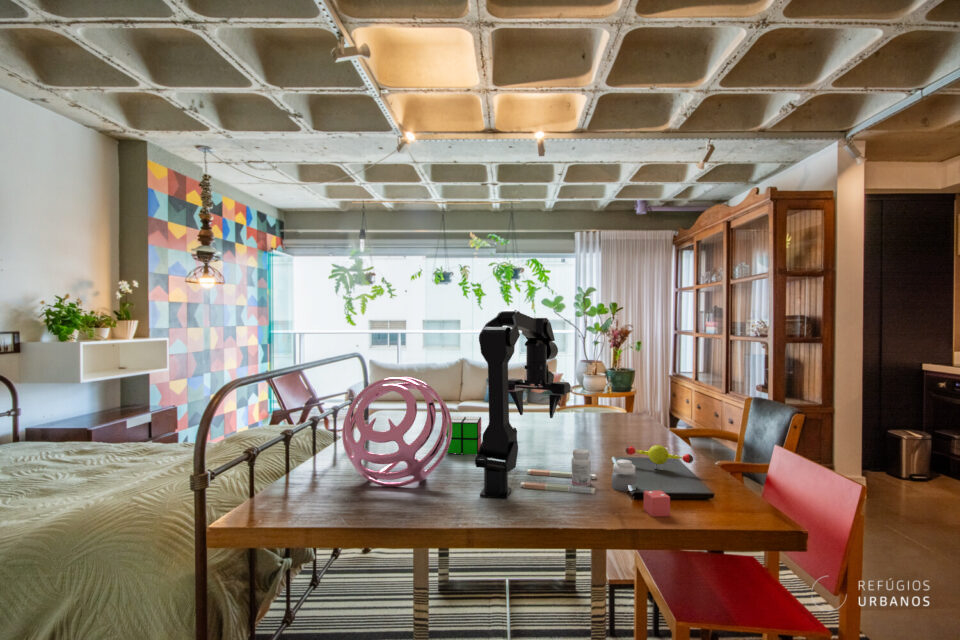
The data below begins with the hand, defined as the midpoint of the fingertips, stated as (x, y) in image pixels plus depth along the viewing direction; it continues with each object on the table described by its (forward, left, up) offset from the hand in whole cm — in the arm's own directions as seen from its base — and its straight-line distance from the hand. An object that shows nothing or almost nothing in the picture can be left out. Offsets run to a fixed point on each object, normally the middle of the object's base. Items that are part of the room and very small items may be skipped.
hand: (536, 416), depth 139 cm
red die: (-28, -30, -14) cm, 43 cm away
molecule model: (+5, -34, -14) cm, 37 cm away
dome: (-13, -24, -10) cm, 29 cm away
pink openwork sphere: (-23, +33, -14) cm, 43 cm away
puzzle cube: (+11, +24, -14) cm, 31 cm away
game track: (-13, -13, -14) cm, 23 cm away
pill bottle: (-13, -13, -14) cm, 23 cm away
